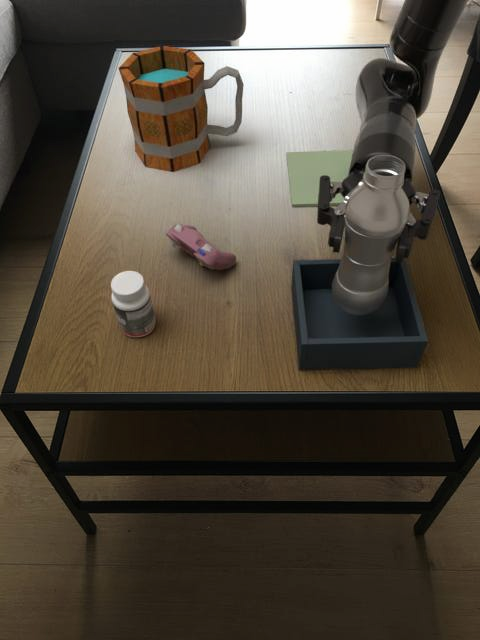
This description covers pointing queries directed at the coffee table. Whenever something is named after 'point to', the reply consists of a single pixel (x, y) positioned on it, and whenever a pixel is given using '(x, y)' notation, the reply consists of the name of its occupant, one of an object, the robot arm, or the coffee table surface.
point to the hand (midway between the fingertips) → (368, 251)
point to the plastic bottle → (371, 236)
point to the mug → (172, 106)
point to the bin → (355, 322)
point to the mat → (315, 174)
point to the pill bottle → (132, 304)
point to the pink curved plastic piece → (199, 247)
